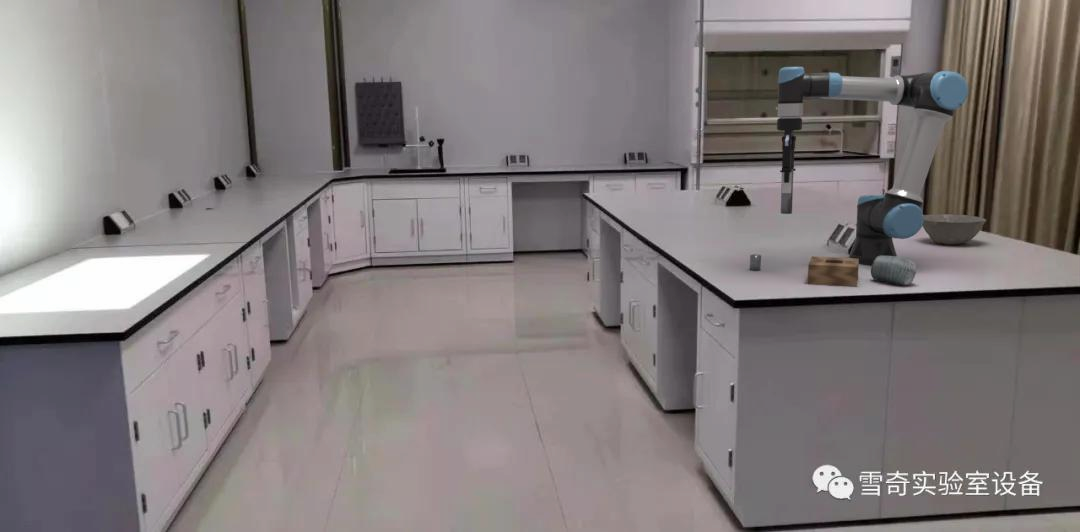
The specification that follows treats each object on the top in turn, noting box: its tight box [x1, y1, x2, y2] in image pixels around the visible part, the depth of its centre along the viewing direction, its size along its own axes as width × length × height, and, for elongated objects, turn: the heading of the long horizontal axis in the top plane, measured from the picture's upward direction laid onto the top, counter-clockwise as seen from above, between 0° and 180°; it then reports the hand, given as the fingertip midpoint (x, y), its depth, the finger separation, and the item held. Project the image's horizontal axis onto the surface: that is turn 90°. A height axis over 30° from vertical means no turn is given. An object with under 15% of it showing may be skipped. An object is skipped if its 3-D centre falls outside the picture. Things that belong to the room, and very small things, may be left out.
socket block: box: [807, 256, 860, 287], centre depth 252 cm, size 14×14×6 cm
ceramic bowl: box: [922, 213, 987, 245], centre depth 311 cm, size 22×23×10 cm
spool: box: [870, 256, 917, 286], centre depth 248 cm, size 14×10×10 cm
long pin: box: [780, 168, 795, 215], centre depth 260 cm, size 4×4×14 cm
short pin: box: [749, 253, 762, 272], centre depth 271 cm, size 4×4×5 cm
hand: (787, 192), depth 260 cm, fingers closed on long pin, 3 cm apart
